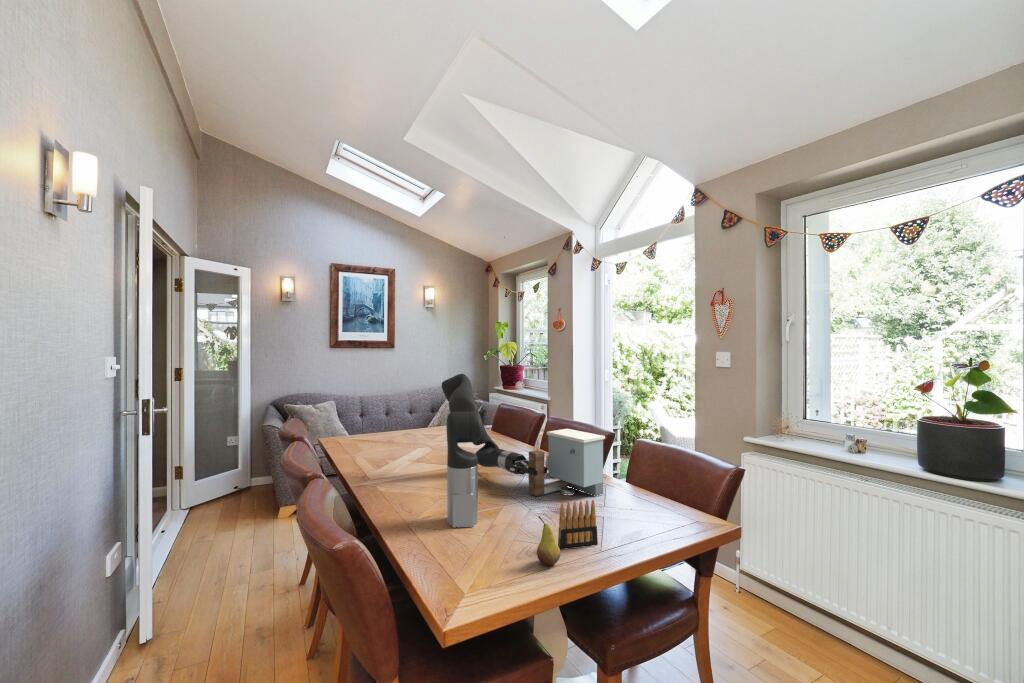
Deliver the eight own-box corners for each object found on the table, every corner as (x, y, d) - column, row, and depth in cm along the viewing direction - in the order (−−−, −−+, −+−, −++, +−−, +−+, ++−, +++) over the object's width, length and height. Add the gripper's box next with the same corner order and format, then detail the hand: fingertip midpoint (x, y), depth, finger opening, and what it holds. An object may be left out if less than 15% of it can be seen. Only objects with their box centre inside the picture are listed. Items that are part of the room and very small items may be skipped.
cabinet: (545, 488, 173) (545, 432, 173) (567, 482, 180) (567, 428, 180) (582, 501, 158) (582, 440, 158) (605, 494, 165) (605, 436, 165)
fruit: (558, 570, 109) (558, 520, 109) (534, 567, 111) (534, 517, 111) (562, 560, 115) (562, 511, 115) (539, 557, 116) (539, 509, 116)
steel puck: (576, 495, 165) (576, 491, 165) (562, 496, 164) (562, 492, 164) (572, 491, 170) (572, 487, 170) (558, 492, 169) (558, 487, 169)
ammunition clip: (595, 542, 125) (594, 497, 125) (597, 545, 123) (597, 500, 124) (557, 546, 123) (557, 501, 123) (560, 549, 121) (560, 503, 121)
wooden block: (528, 493, 165) (528, 451, 165) (559, 485, 175) (559, 445, 175) (535, 496, 162) (536, 453, 162) (567, 488, 172) (567, 447, 172)
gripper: (496, 454, 172) (526, 464, 158) (526, 449, 181) (556, 458, 167) (496, 475, 172) (526, 486, 158) (526, 468, 181) (556, 478, 167)
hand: (541, 471), depth 163 cm, fingers closed on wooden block, 4 cm apart
